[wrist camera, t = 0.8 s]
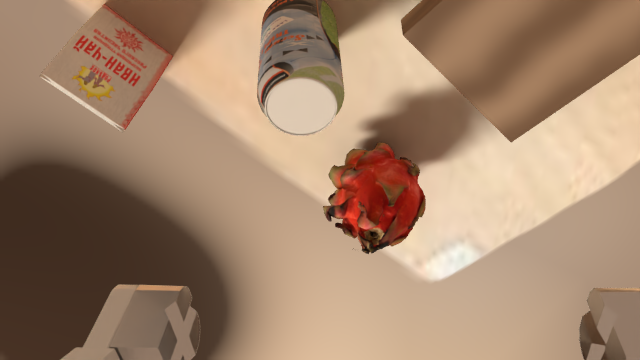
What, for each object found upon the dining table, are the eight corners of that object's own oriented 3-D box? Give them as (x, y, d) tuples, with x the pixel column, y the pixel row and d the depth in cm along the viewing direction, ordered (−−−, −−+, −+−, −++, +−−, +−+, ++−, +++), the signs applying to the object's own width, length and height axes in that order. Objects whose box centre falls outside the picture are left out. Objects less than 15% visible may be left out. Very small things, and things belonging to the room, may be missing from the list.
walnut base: (400, 17, 46) (403, 35, 43) (551, -121, 39) (565, -110, 36) (503, 121, 51) (511, 142, 48) (651, 15, 44) (670, 33, 41)
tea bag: (151, 83, 50) (111, 146, 43) (83, 34, 48) (29, 91, 40) (172, 56, 49) (136, 116, 41) (104, 4, 46) (51, 57, 38)
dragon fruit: (371, 103, 50) (373, 186, 41) (440, 152, 53) (456, 240, 44) (315, 162, 55) (305, 249, 45) (381, 204, 57) (384, 294, 48)
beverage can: (294, -30, 43) (275, 33, 34) (364, 29, 46) (364, 103, 36) (248, 28, 46) (219, 100, 37) (316, 80, 49) (305, 160, 40)
